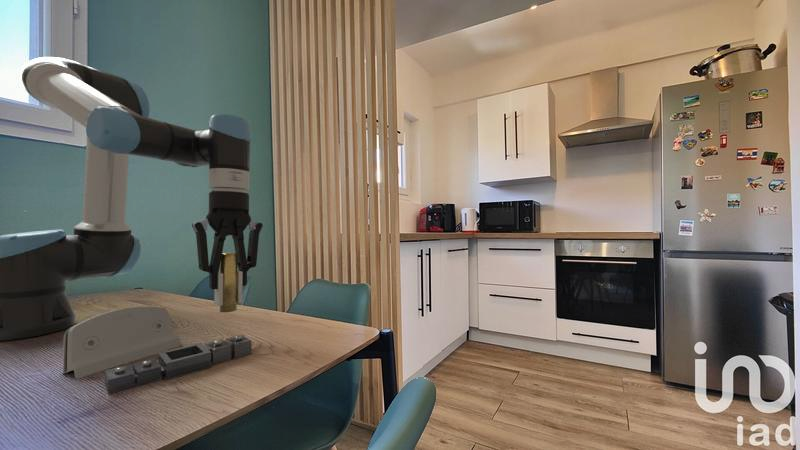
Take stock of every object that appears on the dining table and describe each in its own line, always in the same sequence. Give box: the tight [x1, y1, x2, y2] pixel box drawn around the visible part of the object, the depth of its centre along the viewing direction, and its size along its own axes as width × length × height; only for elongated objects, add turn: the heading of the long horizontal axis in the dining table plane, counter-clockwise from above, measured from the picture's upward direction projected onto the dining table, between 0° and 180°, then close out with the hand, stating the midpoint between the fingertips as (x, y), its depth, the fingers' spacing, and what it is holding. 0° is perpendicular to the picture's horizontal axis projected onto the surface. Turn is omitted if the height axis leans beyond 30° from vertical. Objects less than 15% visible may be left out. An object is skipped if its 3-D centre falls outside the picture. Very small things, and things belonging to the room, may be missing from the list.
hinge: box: [62, 306, 182, 380], centre depth 62 cm, size 17×5×10 cm, turn 153°
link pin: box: [219, 252, 238, 313], centre depth 69 cm, size 3×3×12 cm
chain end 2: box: [157, 334, 252, 372], centre depth 59 cm, size 6×14×3 cm, turn 135°
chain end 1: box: [104, 353, 212, 395], centre depth 54 cm, size 6×13×3 cm, turn 136°
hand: (228, 302), depth 69 cm, fingers closed on link pin, 3 cm apart
